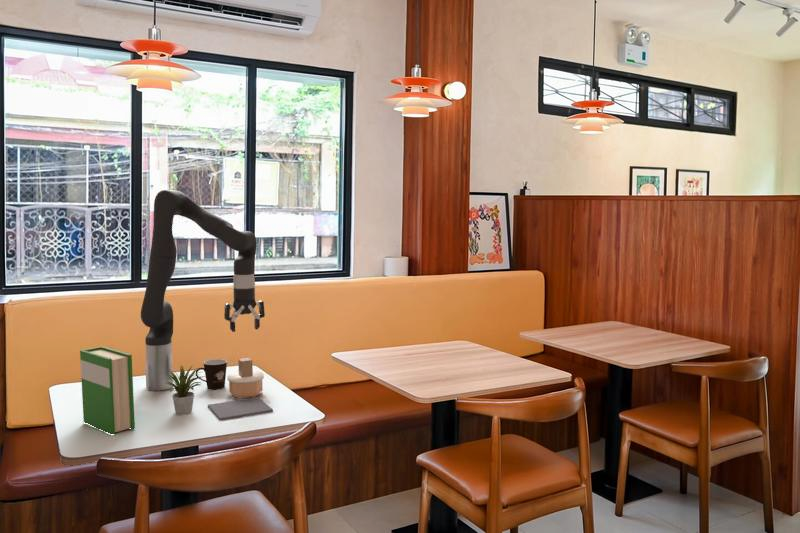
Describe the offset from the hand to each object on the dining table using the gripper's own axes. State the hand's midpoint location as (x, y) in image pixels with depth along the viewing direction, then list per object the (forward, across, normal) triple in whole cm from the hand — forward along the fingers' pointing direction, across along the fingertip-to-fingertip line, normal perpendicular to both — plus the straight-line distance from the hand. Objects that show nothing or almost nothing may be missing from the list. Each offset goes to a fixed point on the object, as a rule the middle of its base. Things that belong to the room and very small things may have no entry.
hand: (245, 330), depth 242 cm
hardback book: (+24, +48, +12) cm, 55 cm away
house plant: (+24, +25, +11) cm, 36 cm away
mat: (+24, +7, +16) cm, 30 cm away
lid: (+18, 0, 0) cm, 18 cm away
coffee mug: (+24, +9, -14) cm, 29 cm away
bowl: (+24, 0, 0) cm, 24 cm away
